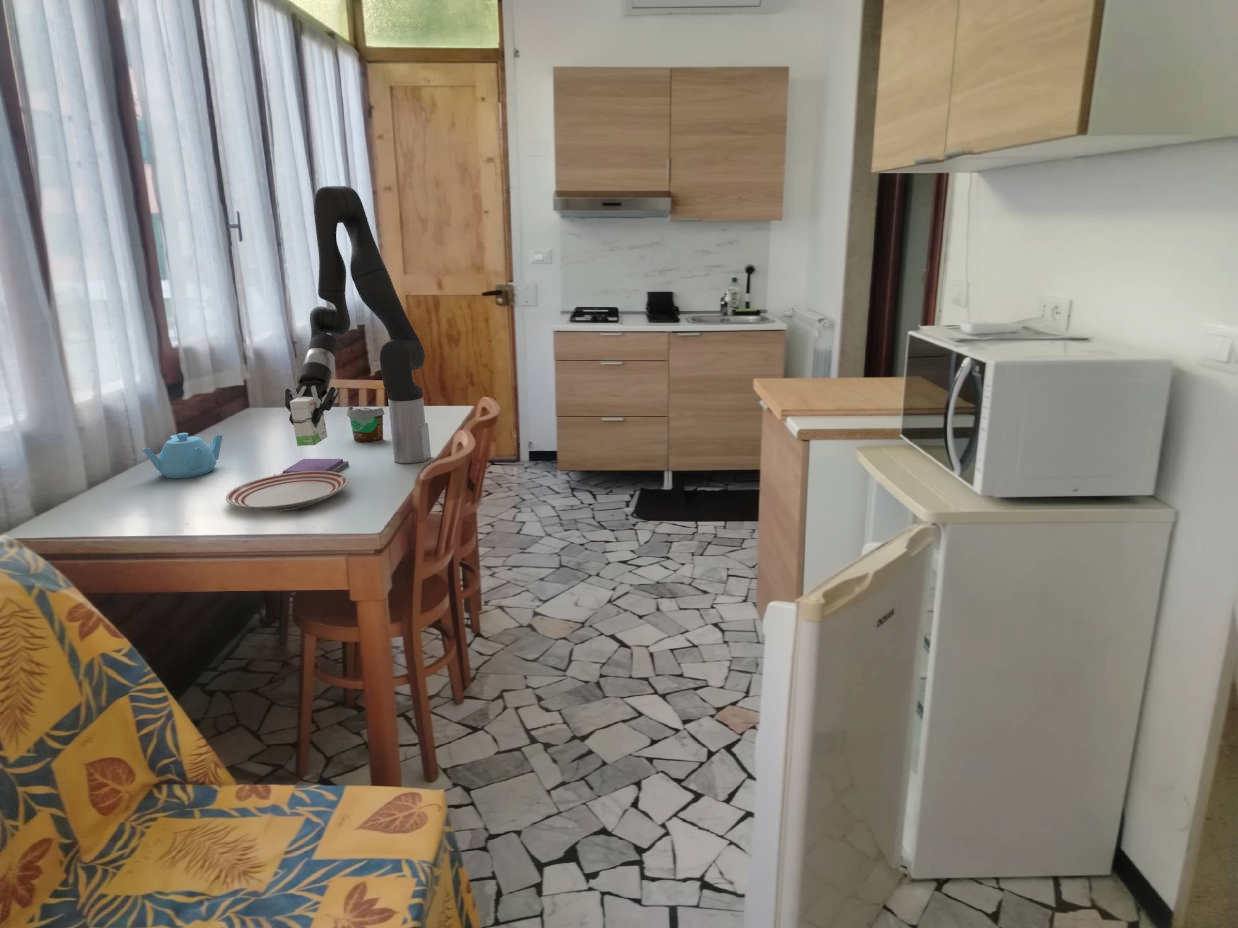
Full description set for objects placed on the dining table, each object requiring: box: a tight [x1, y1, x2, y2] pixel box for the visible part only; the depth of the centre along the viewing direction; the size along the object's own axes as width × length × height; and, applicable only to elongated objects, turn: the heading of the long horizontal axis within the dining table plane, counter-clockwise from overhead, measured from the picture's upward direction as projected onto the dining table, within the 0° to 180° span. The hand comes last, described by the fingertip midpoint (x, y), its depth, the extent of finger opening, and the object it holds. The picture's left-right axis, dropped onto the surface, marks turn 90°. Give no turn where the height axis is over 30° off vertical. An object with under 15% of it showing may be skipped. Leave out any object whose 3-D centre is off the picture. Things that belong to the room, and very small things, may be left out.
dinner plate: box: [225, 471, 349, 512], centre depth 199 cm, size 28×27×3 cm
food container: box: [346, 405, 385, 444], centre depth 251 cm, size 12×6×10 cm, turn 68°
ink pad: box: [280, 458, 350, 474], centre depth 220 cm, size 13×14×2 cm
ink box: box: [290, 397, 328, 447], centre depth 216 cm, size 9×5×12 cm, turn 176°
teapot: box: [142, 432, 223, 479], centre depth 222 cm, size 15×15×11 cm
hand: (303, 423), depth 214 cm, fingers closed on ink box, 5 cm apart
